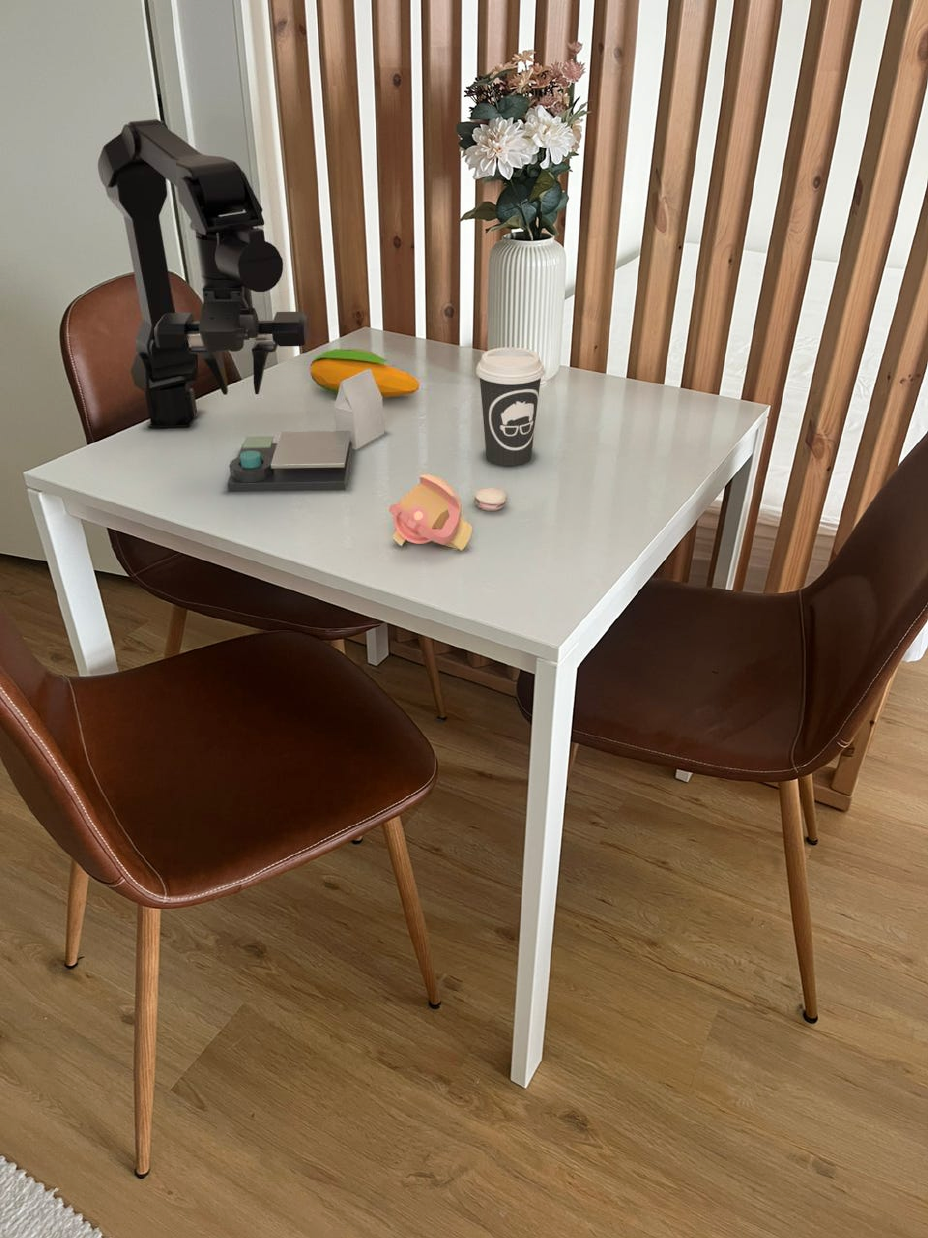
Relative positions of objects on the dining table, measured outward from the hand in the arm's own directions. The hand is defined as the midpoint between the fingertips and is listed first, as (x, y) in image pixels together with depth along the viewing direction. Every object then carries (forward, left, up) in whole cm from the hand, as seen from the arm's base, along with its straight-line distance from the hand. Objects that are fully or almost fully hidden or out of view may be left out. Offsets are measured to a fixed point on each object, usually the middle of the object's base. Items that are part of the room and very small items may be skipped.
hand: (241, 393), depth 133 cm
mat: (+10, +43, -13) cm, 46 cm away
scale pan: (+8, +3, -10) cm, 13 cm away
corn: (+14, +31, -13) cm, 36 cm away
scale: (+5, +3, -13) cm, 14 cm away
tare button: (0, 0, -10) cm, 10 cm away
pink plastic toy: (+25, -18, -13) cm, 34 cm away
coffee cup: (+36, +7, -13) cm, 39 cm away
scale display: (0, +6, -10) cm, 12 cm away
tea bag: (+14, +14, -13) cm, 24 cm away
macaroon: (+33, -8, -13) cm, 36 cm away
